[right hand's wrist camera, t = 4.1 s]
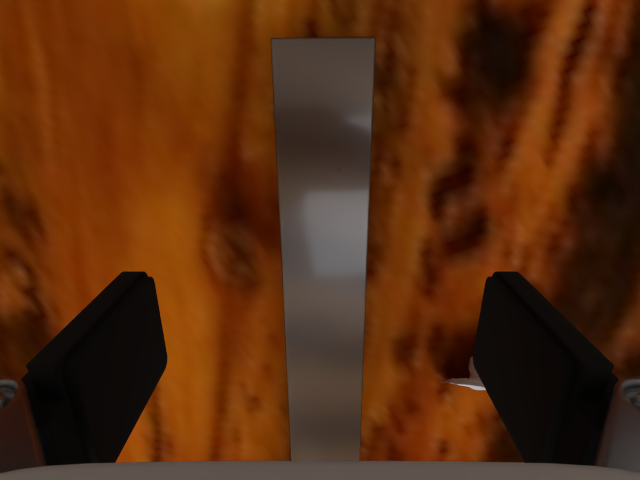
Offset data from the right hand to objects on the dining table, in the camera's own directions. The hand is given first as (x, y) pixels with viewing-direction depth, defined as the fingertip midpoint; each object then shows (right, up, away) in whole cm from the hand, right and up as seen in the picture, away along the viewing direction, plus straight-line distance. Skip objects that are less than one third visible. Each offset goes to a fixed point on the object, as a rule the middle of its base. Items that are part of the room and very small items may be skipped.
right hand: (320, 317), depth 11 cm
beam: (0, -18, +24) cm, 30 cm away
